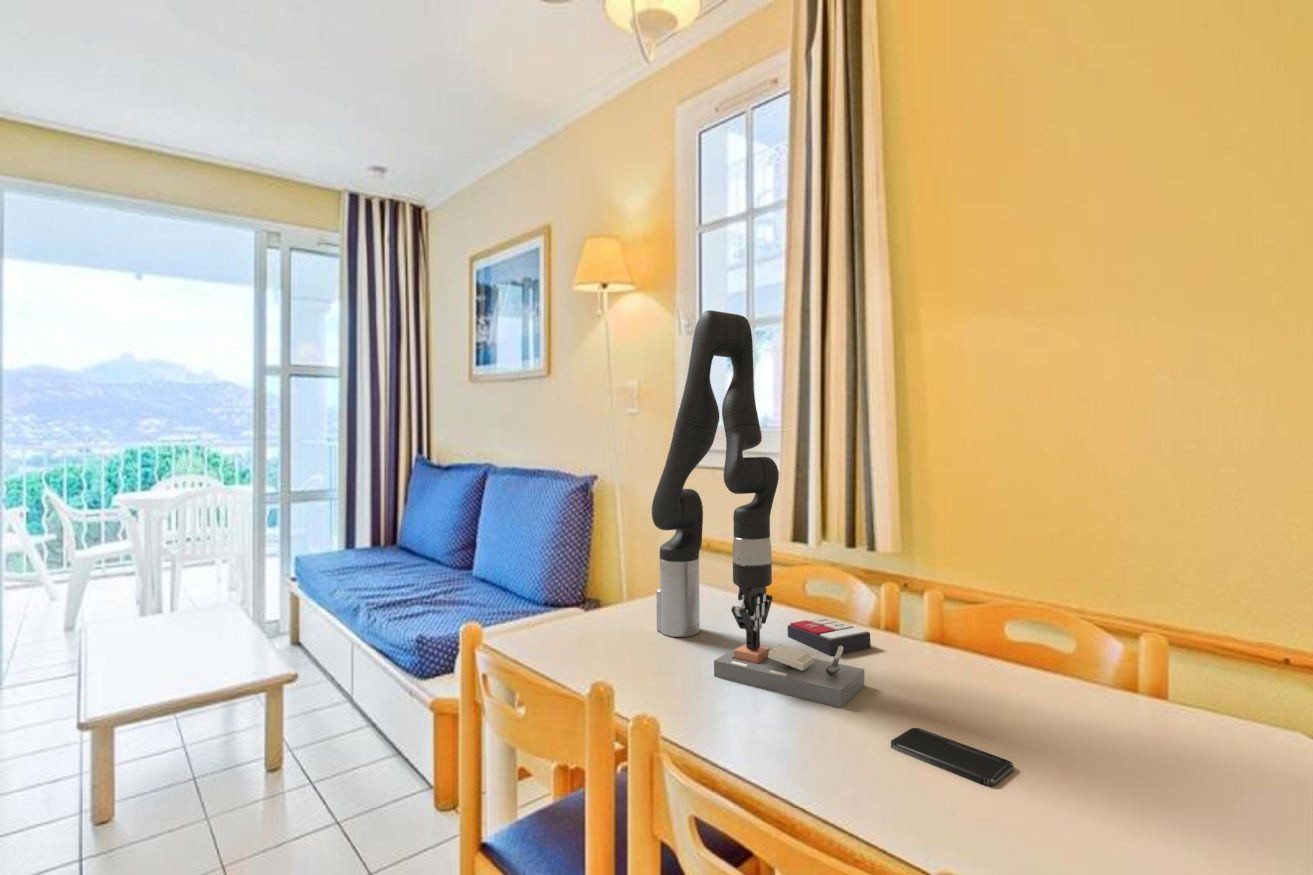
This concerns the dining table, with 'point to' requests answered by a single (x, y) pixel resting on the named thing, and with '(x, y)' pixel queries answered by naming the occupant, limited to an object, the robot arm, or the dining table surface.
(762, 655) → the push button
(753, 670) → the panel
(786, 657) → the white slab
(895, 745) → the phone
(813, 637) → the calculator
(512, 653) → the dining table surface
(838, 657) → the toggle lever
